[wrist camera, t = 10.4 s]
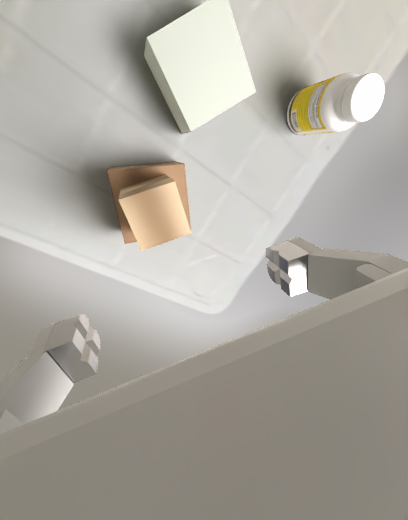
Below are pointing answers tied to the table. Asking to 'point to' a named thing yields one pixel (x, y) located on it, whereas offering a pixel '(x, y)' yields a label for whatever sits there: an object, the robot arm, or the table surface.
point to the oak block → (154, 211)
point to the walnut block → (140, 173)
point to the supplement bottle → (335, 103)
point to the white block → (200, 64)
